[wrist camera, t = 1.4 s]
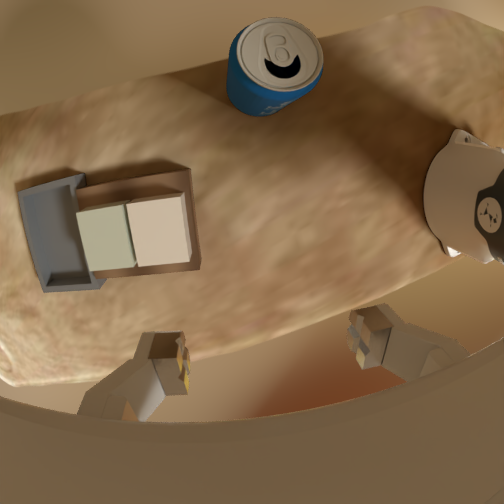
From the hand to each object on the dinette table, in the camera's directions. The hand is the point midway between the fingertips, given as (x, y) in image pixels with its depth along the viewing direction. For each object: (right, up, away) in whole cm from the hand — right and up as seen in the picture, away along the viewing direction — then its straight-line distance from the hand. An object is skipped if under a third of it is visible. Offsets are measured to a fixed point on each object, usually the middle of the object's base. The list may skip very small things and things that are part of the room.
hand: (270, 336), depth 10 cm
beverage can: (0, +20, +15) cm, 25 cm away
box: (-23, +5, +18) cm, 30 cm away
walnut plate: (-13, +6, +19) cm, 24 cm away
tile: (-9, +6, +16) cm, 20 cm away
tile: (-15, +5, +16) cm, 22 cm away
